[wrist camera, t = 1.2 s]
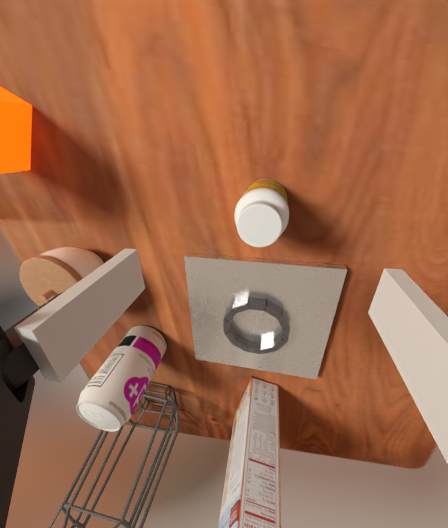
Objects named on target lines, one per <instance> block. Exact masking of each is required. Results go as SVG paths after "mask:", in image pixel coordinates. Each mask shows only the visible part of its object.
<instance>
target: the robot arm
mask: <svg viewBox="0 0 448 528" xmlns="http://www.w3.org/2000/svg"><path fill="white" fill-rule="evenodd" d="M144 289H145V284H144V280H143V275H142V271H141V266H140V262H139V257H138V253H137V249H124V250H122V251H121V252H120V253H118V254H117V255H115V256H114V257H113V258H111V259H110V260H108V261H107V262H106V263H104V264H103V265H101V266H100V267H99V268H97V269H96V270H94V271H93V272H92V273H90V274H89V275H87V276H86V277H85V278H83V279H82V280H80V281H79V282H77V283H76V284H75V285H73V286H72V287H70V288H69V289H68V290H66V291H64V292H62V293H60V294H58V295H56V296H55V297H53V298H52V299H50V300H49V301H48V302H47V303H45V304H43V305H42V306H40V307H39V309H36V310H35V311H33V312H32V313H30V314H29V315H28V316H26V317H25V318H23V319H22V320H21V321H19V322H18V323H17V324H15V325H14V326H12V327H11V328H9V329H8V330H6V331H5V332H4V331H3V329H2V328H1V326H0V528H5V526H6V521H7V516H8V511H9V506H10V501H11V496H12V492H13V487H14V482H15V477H16V473H17V467H18V463H19V458H20V453H21V448H22V443H23V439H24V433H25V429H26V424H27V419H28V414H29V409H30V405H31V400H32V395H33V390H34V385H35V379H34V377H33V375H34V374H35V373H36V372H37V371H38V370H40V371H41V373H42V374H43V376H44V378H45V379H48V380H52V381H57V382H62V381H63V380H64V379H65V378H66V377H67V376H68V374H69V373H70V372H71V371H72V370H73V369H74V368H75V367H76V365H77V364H78V363H79V362H80V361H81V360H82V359H83V358H84V356H85V355H86V354H87V353H88V352H89V351H90V350H91V349H92V348H93V346H94V345H95V344H96V343H97V342H98V341H99V340H100V339H101V337H102V336H103V335H104V334H105V333H106V332H107V331H108V330H109V328H110V327H111V326H112V325H113V324H114V323H115V322H116V321H117V319H118V318H119V317H120V316H121V315H122V314H123V313H124V312H125V311H126V309H127V308H128V307H129V306H130V305H131V304H132V303H133V302H134V300H135V299H136V298H137V297H138V296H139V295H140V294H141V293H142V291H143V290H144ZM368 314H369V316H370V317H371V319H372V321H373V323H374V325H375V327H376V329H377V331H378V333H379V335H380V336H381V338H382V340H383V342H384V344H385V346H386V348H387V350H388V352H389V354H390V356H391V357H392V359H393V361H394V363H395V365H396V367H397V369H398V371H399V373H400V375H401V377H402V378H403V380H404V382H405V384H406V386H407V388H408V390H409V392H410V394H411V396H412V397H413V399H414V401H415V403H416V405H417V407H418V409H419V411H420V413H421V415H422V417H423V418H424V420H425V422H426V424H427V426H428V428H429V430H430V432H431V434H432V436H433V437H434V439H435V441H436V443H437V445H438V447H439V449H440V451H441V453H442V455H443V456H444V458H445V460H446V462H447V464H448V317H447V316H446V315H445V313H444V312H443V311H442V310H441V309H440V308H439V307H438V306H437V305H436V304H435V303H434V302H433V301H432V300H431V299H430V298H429V297H428V296H427V295H426V294H425V293H424V292H423V291H422V290H421V289H420V288H419V287H418V285H417V284H416V283H415V282H414V281H413V280H412V279H411V278H410V277H409V276H408V275H407V274H406V273H405V272H404V271H403V270H400V269H387V268H384V271H383V273H382V276H381V279H380V282H379V284H378V287H377V290H376V293H375V295H374V298H373V301H372V304H371V306H370V309H369V312H368Z"/></svg>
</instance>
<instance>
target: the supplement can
mask: <svg viewBox="0 0 448 528" xmlns="http://www.w3.org/2000/svg"><path fill="white" fill-rule="evenodd" d="M166 349H167V346H166V342H165V340H164V338H163V336H162V335H161V334H160V333H159V332H158V331H157V330H155V329H153V328H151V327H148V326H137V327H133V328H132V329H131V330H129V332H128V333H127V334H126V335H125V337H124V338H123V339H122V341H121V342H120V343H119V344H118V346H117V347H116V348H115V350H114V351H113V352H112V353H111V355H110V356H109V357H108V359H107V360H106V361H105V362H104V364H103V365H102V366H101V368H100V369H99V370H98V371H97V373H96V374H95V375H94V377H93V378H92V379H91V380H90V382H89V383H88V384H87V385H86V387H85V388H84V390H83V391H82V392H81V393H80V398H79V402H78V404H77V406H76V411H77V413H78V414H79V415H80V417H81V418H82V419H83V420H85V421H86V422H87V423H89V424H90V425H92V426H94V427H96V428H99V429H101V430H105V431H117V430H119V429H120V427H121V426H123V425H124V424H125V423H126V422H128V421H129V419H130V417H131V416H132V414H133V412H134V410H135V408H136V406H137V404H138V402H139V400H140V399H141V397H142V395H143V393H144V391H145V389H146V387H147V385H148V384H149V382H150V380H151V378H152V376H153V374H154V372H155V370H156V368H157V367H158V365H159V363H160V361H161V359H162V357H163V355H164V353H165V351H166Z"/></svg>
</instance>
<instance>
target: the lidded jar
mask: <svg viewBox="0 0 448 528" xmlns="http://www.w3.org/2000/svg"><path fill="white" fill-rule="evenodd" d="M103 264H104V262H103V260H102V259H101V258H100V257H99V256H98V255H96V254H95V253H93V252H91V251H88V250H84V249H81V248H77V247H61V248H57V249H53V250H49V251H47V252H44V253H42V254H40V255H38V256H34V257H32V258H29V259H27V260H25V261H24V262H23V263H22V265H21V267H20V273H19V275H20V280H21V283H22V285H23V288H24V289H25V291H26V293H27V294H28V295H29V296H30V298H31V299H32V300H33V301H34V302H35V303H36V304H37V305H38V306H42V305H43V304H45V303H47V302H48V301H49V300H50V299H52V298H53V297H55V296H56V295H58V294H60V293H62V292H64V291H66V290H68V289H69V288H70V287H72V286H73V285H75V284H76V283H77V282H79V281H80V280H82V279H83V278H85V277H86V276H87V275H89V274H90V273H92V272H93V271H94V270H96V269H97V268H99V267H100V266H101V265H103Z"/></svg>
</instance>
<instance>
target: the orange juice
mask: <svg viewBox="0 0 448 528" xmlns="http://www.w3.org/2000/svg"><path fill="white" fill-rule="evenodd" d="M31 127H32V105H31V104H29V103H27V102H25V101H24V100H22V99H20V98H19V97H17V96H15V95H14V94H12V93H10V92H9V91H7V90H5V89H4V88H2V87H0V174H2V173H10V172H18V171H27V170H30V160H31Z"/></svg>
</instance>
